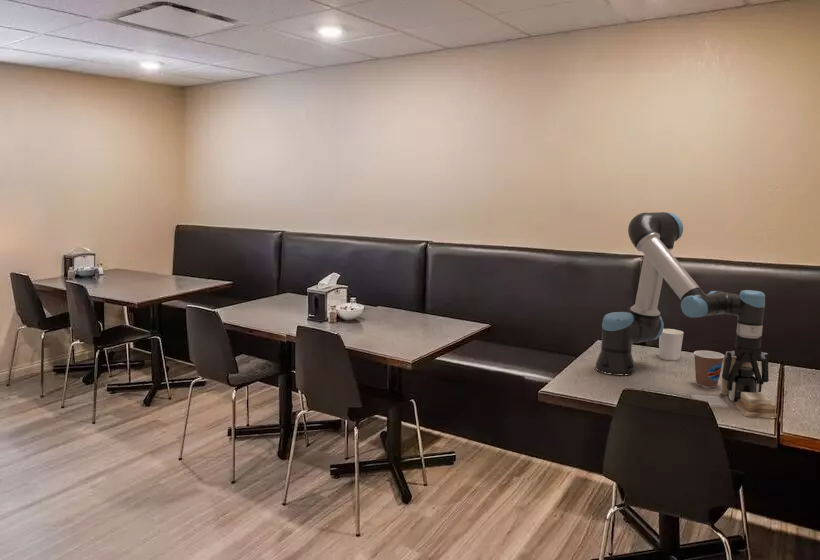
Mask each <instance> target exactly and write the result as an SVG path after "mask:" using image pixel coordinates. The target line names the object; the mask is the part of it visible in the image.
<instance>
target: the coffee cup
mask: <svg viewBox="0 0 820 560" xmlns="http://www.w3.org/2000/svg"><path fill="white" fill-rule="evenodd" d="M693 354H694V369H695V371H694V372H695V381H696V382H695V383H696V385H698V386H700V387H702V388H710V389H711V388H713V389H714V388H717V386H718V383H719V379H720V376H721V373H722V372H721V371H722V368H723V361H724V356H725V354H723V353H721V352H717V351H712V350H695V351H693Z"/></svg>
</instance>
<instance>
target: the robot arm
mask: <svg viewBox="0 0 820 560" xmlns="http://www.w3.org/2000/svg"><path fill="white" fill-rule="evenodd" d="M683 225H684V224H683V221H682V220H681V219H680V217H679V216H678V215H677V214H675V213H673V212H665V211H660V212H657V211H656V212H641V213H638V214H636V215H635V216H634V217H633V218H632V219H631V220H630V221H629V225H628V228H627V233H628V237H629V240H630V242H631V243H632V245H633V246H634V248H635V249H636V250H637V251H638V252H642V253H643V259H642V264H641V265H642V266H641V268H640V269H641V270H640V275H639V281H638V287H637V291H636V298H635V302H634V303H635V304H633V305H632V306H630V308H629V312H627V311H615V312H614V311H613V312H609V313H607V314H605V315H604V316H603V319H602V324H601V345H600V347H601V348H600V352H599V355H598V357H597V359H596V362H595V369H596V368H597V369H598V370H600V371H603V372H606V373H611V374H623V375H622V376H626V375H625V374H631V375H633V374H635V373H634V372H636V365H635V362H634V358H633V354H632V346H633V345H632V344H639V343H644V342H645V343H648V342H651V341H654V340H655V341H656V340H657V339H659V336H660V335H661V334H662V332H663V329H665V328H664V327H665V325H664V321H663V318H662V316H661V311H659V309H658V306H659V300H660V296H661V290H662V286H663V279H664V281H665V282H666V283H667V284H668V285H669V287H670V289H671V290H673V292H674V294H675V295H676V296H677V297H678V299H679V300H681V301H680V308H681V312H682V314H683V315H685V316H686V317H688V318H703V317H708V316H718V315H729V316H733V317H737V323H736V324H737V325H736V335H735V348H734V349H733V350H729V351H728V350H725V351H724V356H726V359H725V363H724V368H723V367H722V372H723V373H722V372H721V379H722V378H723V379H725V380H727V389H728V390H729V395H728V399H729V400H730V401H732V402H734V395H735V384H736V383H735V382H734V379H735V377H736V375H737V373H738V371H739V369H740V367H741V365H743V363H746V362H749V363H751V365H752V368H753V369H754V375H753V376H754V377H755V378H756V389H755V393H762V387H763V386H762V385H764V383H768V382H769V380H770V378H769V360H770V358H771V356H770V354H769V353H768V352H762V350H761V347H762V338H761V337H762V335H763V327H764V326H763V323H764V315H765V314H764V313H765V308H766V295H765V293H764V292H762V291H759V290H751V289H745V290H744V289H743V290H740V293H739V294H736V293H732V292H731V293H730V292H724V291H721V290H711V291H709V292H708V293H705V292H704V291H703V290H702V289H701V288H700V286H699V285H698V284H697V282H696V280H694V279H693V278H692V277H691V275H690V274H689V273H688V272H687V270H685V268H684V267H683V265H682V264H681V263H680V261H678V260H677V258H676V257H675V256H674V254H672V252H671V251H672V250H673V249H674V246H675V245H674V244H675V242H677V241H679V239H681V237H682V236H683V234H684V226H683ZM733 356H736V357H737V358H736V360H735V363H734V365H733V367H732V369H731V371H730V367H731V362H732V357H733ZM759 358H760V359H761V372H760V368H759V365H758V364H759V363H758V361H757V360H758V359H759ZM598 370H597V371H598ZM600 371H599V372H600ZM729 372H730V373H729ZM606 373H605V374H606ZM632 373H633V374H632ZM611 374H610V375H611Z"/></svg>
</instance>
